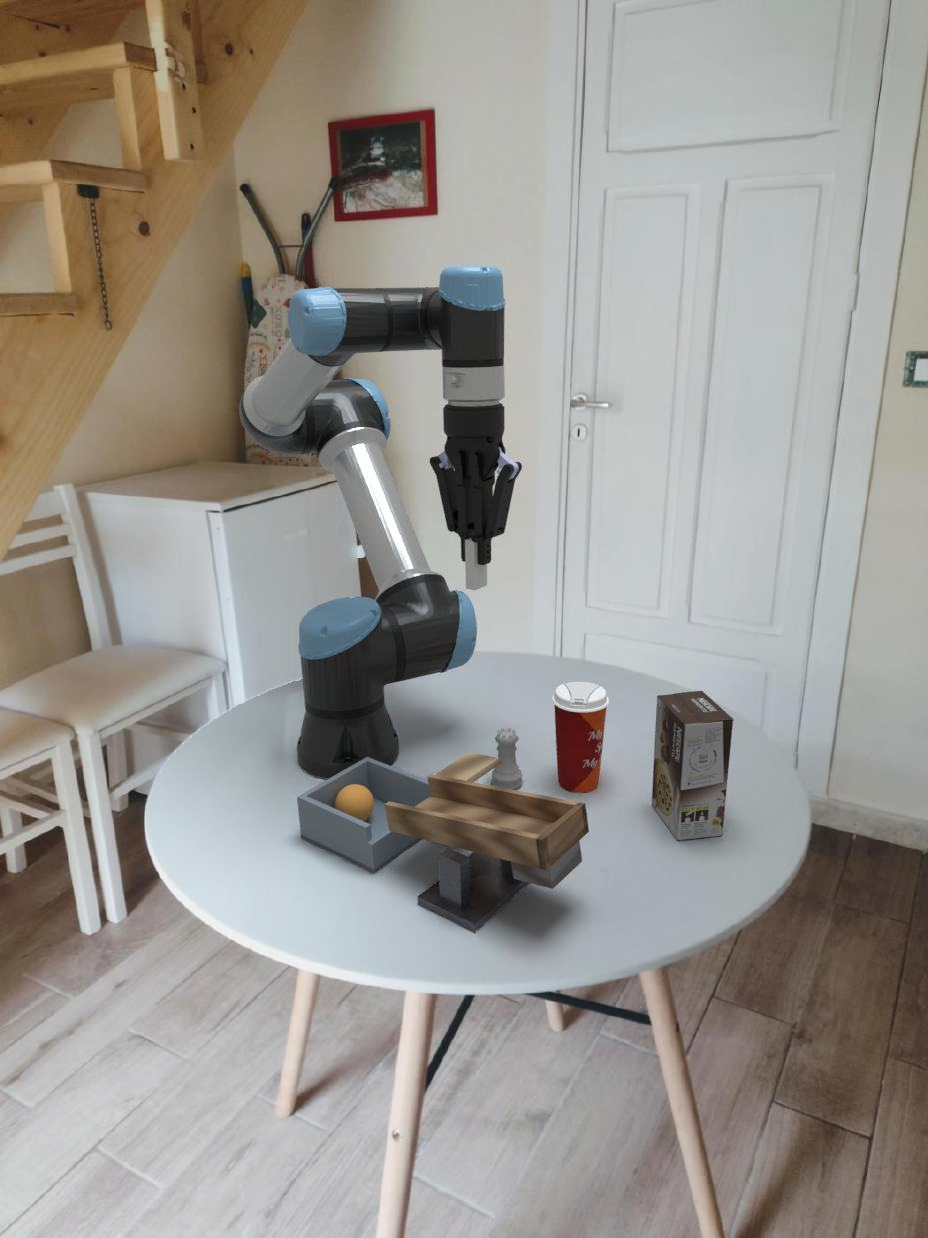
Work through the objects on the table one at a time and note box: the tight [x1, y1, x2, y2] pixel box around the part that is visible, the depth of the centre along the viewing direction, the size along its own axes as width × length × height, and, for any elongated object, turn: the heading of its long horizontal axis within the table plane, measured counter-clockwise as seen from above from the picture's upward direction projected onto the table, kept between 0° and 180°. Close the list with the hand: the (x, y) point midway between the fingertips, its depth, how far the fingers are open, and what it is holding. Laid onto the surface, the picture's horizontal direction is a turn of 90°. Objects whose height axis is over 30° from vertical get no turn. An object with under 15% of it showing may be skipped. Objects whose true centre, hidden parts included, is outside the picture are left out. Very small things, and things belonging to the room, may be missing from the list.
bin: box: [296, 757, 430, 874], centre depth 110 cm, size 13×13×6 cm
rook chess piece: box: [490, 727, 524, 790], centre depth 121 cm, size 4×4×8 cm
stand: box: [417, 847, 530, 933], centre depth 100 cm, size 8×15×7 cm, turn 142°
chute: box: [384, 752, 590, 890], centre depth 101 cm, size 22×16×6 cm
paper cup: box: [551, 681, 610, 794], centre depth 120 cm, size 8×8×14 cm
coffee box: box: [651, 690, 735, 841], centre depth 110 cm, size 9×6×16 cm
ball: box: [335, 784, 374, 821], centre depth 112 cm, size 5×5×5 cm
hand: (476, 586), depth 114 cm, fingers closed
